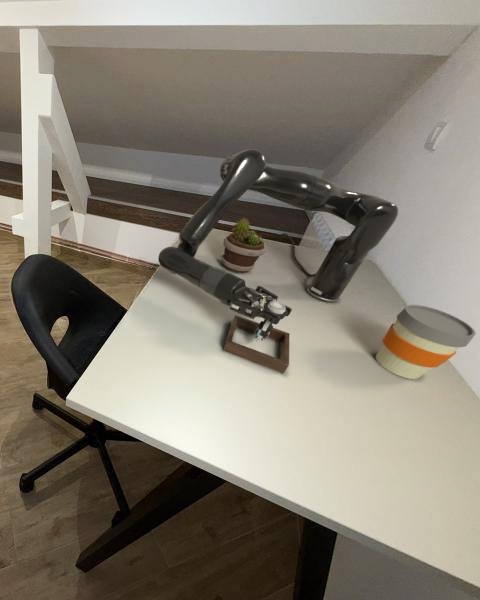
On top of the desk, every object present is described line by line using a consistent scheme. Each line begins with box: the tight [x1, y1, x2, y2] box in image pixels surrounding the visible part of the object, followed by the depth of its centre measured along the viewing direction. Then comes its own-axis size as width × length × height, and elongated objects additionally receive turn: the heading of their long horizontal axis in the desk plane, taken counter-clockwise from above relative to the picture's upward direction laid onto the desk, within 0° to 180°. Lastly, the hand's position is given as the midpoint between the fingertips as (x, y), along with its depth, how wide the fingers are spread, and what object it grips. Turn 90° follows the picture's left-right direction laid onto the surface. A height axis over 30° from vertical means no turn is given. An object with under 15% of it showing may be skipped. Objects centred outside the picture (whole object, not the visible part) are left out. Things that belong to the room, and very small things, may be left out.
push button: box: [254, 301, 288, 343], centre depth 77 cm, size 7×5×10 cm
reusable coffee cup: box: [375, 304, 476, 380], centre depth 76 cm, size 13×13×15 cm
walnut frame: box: [223, 314, 290, 374], centre depth 82 cm, size 14×14×3 cm
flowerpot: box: [220, 217, 267, 274], centre depth 115 cm, size 14×15×20 cm
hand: (284, 316), depth 74 cm, fingers closed on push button, 5 cm apart
